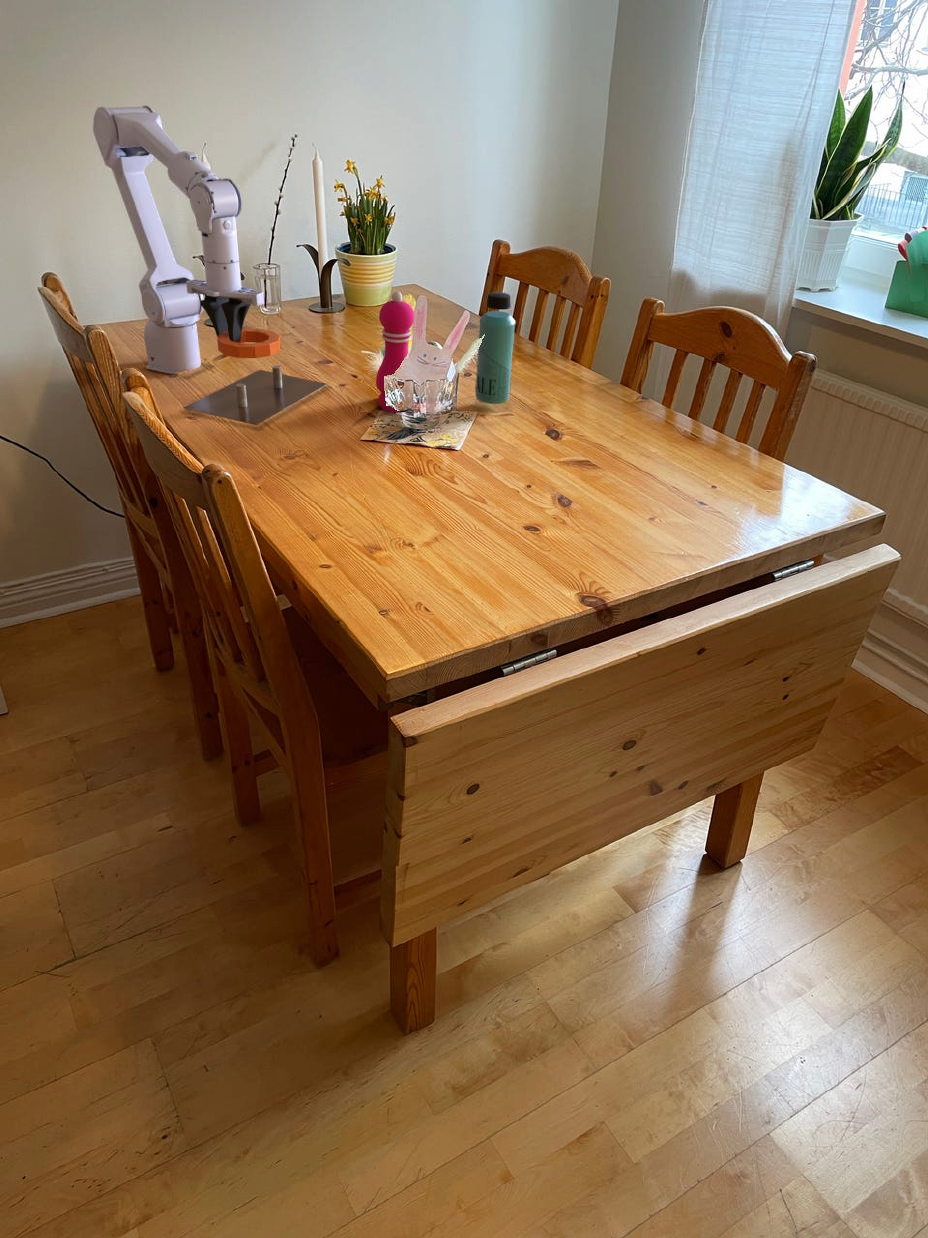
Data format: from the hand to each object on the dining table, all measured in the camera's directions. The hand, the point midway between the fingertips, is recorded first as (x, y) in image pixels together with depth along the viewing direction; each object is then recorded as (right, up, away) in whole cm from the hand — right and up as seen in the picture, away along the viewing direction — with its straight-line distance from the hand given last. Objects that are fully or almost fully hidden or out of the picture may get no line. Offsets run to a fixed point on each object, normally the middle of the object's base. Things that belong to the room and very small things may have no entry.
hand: (229, 340), depth 157 cm
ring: (+4, -2, -1) cm, 4 cm away
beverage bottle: (+46, -10, +6) cm, 48 cm away
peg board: (+4, -10, +3) cm, 11 cm away
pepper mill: (+29, -11, +4) cm, 31 cm away
